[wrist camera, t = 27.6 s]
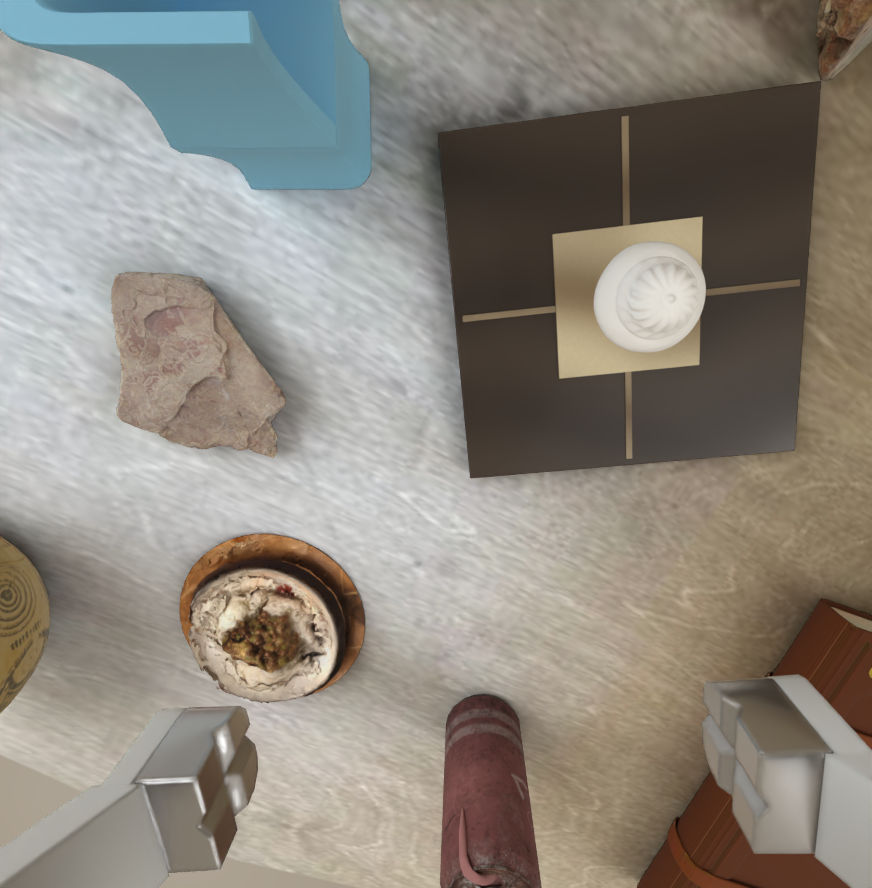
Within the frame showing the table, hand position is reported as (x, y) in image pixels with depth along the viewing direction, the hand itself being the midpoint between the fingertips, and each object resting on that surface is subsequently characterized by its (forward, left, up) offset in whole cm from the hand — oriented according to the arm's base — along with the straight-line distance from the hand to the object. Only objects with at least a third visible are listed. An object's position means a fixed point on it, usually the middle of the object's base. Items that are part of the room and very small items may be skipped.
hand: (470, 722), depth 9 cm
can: (+27, -1, -29) cm, 40 cm away
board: (-6, +11, -29) cm, 32 cm away
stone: (-4, -18, -29) cm, 35 cm away
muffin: (-6, +11, -28) cm, 30 cm away
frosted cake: (+16, -17, -29) cm, 37 cm away
